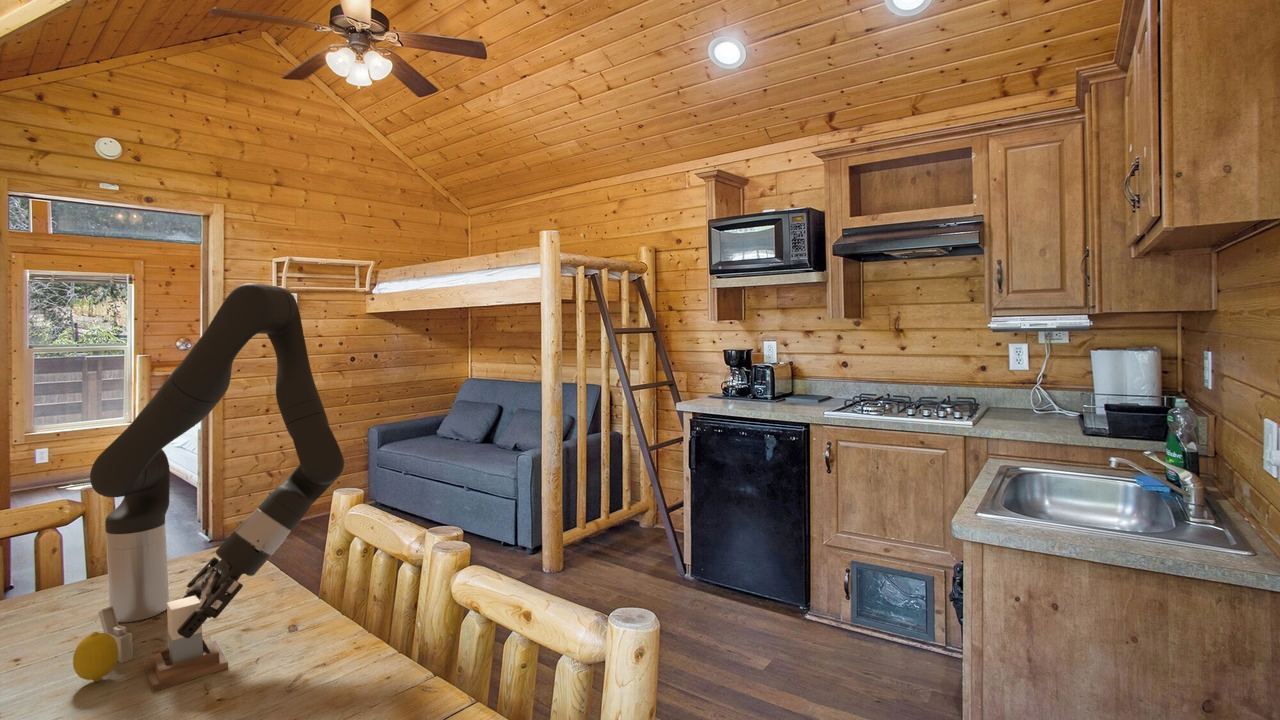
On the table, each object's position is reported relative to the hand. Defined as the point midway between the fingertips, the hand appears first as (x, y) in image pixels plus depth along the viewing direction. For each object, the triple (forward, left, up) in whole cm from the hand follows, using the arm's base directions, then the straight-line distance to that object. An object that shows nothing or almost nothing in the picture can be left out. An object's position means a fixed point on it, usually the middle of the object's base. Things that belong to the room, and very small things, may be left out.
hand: (178, 626), depth 105 cm
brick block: (0, +1, -6) cm, 6 cm away
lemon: (-5, -10, -7) cm, 14 cm away
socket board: (0, +1, -7) cm, 7 cm away
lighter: (-13, -7, -8) cm, 17 cm away
